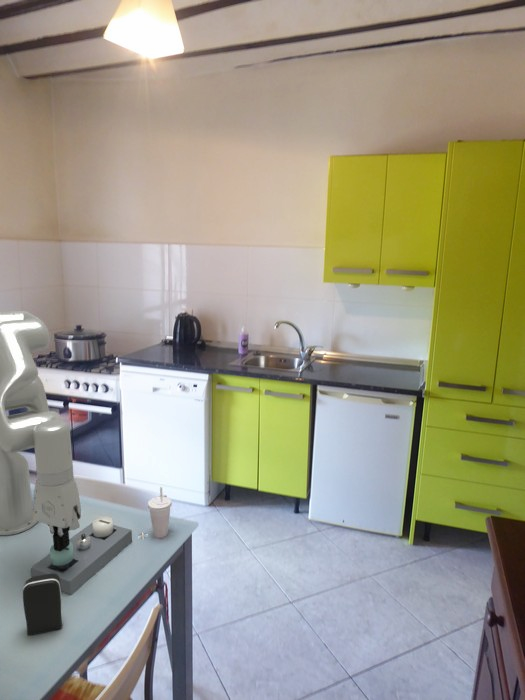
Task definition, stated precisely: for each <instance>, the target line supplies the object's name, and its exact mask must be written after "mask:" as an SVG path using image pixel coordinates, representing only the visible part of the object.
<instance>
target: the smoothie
mask: <svg viewBox="0 0 525 700" xmlns="http://www.w3.org/2000/svg"><path fill="white" fill-rule="evenodd" d="M159 487H160V486H159ZM159 491H160V493H159V496H156V497H153V498H151V499H150V500H148V501H147V509H148V510H149V514H150V515H149V517H150V520H151V525H152V526H151V527H152V531H153V532H152V533H153V537H154V538H156V539H163V538H166V537H167V535H169V534H168V533H169V524H170V523H169V522H170V514H171V507H172V505H173V504H172V503H173V502H172V499H171V498H169V497H167V496H163V486H161V487H160V488H159Z"/></svg>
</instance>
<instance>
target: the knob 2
mask: <svg viewBox="0 0 525 700" xmlns="http://www.w3.org/2000/svg"><path fill="white" fill-rule="evenodd" d="M92 522H93V535H94V536H95V537H99V539H102V540H105V539H106V538H108V536H109V535H110V534H112V532H113V525H114V522H113V518H112V517H110V516H100V517H99V516H98V517H97V518H96V519H94V520H93V521H92Z"/></svg>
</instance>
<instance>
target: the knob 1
mask: <svg viewBox="0 0 525 700" xmlns="http://www.w3.org/2000/svg"><path fill="white" fill-rule="evenodd" d="M49 554H50V557H51V563H52V564H53V565H56V566H57V567H58V571H65V570H67V569H68V567H69V565H68V563H69V562H71V561H72V560H73V558H74V553H73V544H72V543H71V542H70V544H69V545H68V546H67V547H66V548H64V549H63V550H62V551H58V550H54V544H53V545H51V546H50V548H49Z"/></svg>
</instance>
